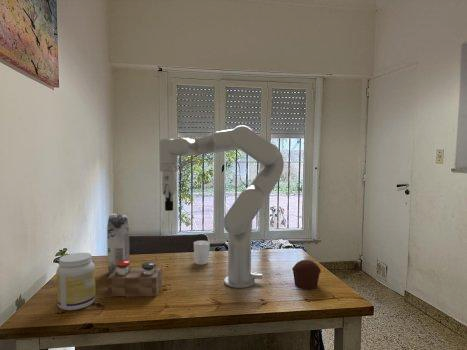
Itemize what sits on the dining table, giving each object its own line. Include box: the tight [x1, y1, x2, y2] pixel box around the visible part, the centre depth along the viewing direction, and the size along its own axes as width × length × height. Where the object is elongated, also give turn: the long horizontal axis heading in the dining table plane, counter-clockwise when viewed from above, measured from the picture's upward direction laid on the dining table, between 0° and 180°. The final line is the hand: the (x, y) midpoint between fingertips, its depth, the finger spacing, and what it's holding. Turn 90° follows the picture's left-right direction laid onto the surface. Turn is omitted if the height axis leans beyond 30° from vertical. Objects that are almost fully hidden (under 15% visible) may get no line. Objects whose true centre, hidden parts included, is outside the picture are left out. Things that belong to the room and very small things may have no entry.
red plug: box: [116, 259, 131, 275], centre depth 126 cm, size 5×5×10 cm
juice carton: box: [106, 212, 130, 276], centre depth 144 cm, size 9×10×27 cm
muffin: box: [291, 259, 322, 291], centre depth 132 cm, size 12×11×10 cm
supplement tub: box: [56, 252, 96, 311], centre depth 115 cm, size 12×12×17 cm
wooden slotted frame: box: [106, 266, 163, 298], centre depth 127 cm, size 12×18×7 cm, turn 93°
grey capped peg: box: [141, 261, 157, 274], centre depth 127 cm, size 5×5×10 cm
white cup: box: [193, 240, 211, 266], centre depth 160 cm, size 8×8×10 cm
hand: (169, 210), depth 140 cm, fingers closed
